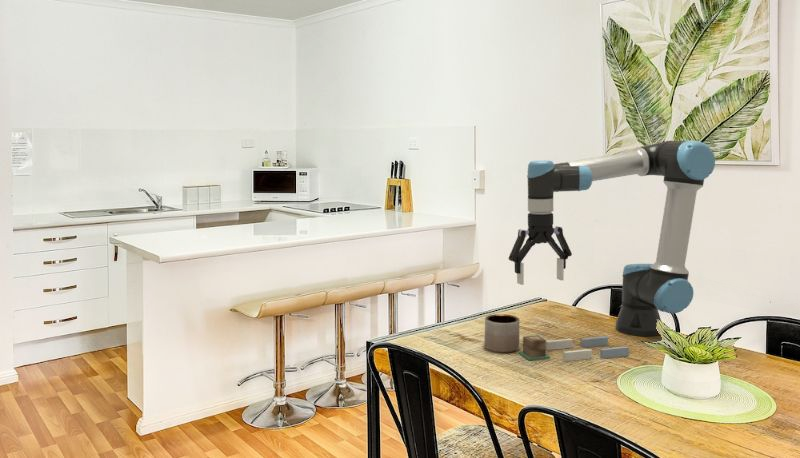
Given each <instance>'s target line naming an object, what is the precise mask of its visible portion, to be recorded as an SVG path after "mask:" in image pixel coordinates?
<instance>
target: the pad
mask: <svg viewBox="0 0 800 458" xmlns="http://www.w3.org/2000/svg"><path fill="white" fill-rule="evenodd" d="M517 354H518V355H519V356H521V357H522V358H524V359H525V360H527V361H531V362H532V361H533V362H534V361H539V360H540V361H541V360H542V361H543V360H550V359H551V356H550V355H548V354H546V356H541V357H532V358H530V357H529V356H527V355H526V354H524V353H523V350H521V351H518V353H517Z"/></svg>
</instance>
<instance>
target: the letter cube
mask: <svg viewBox="0 0 800 458" xmlns="http://www.w3.org/2000/svg"><path fill="white" fill-rule="evenodd" d="M546 341H547V340H546V339H545V338H543V337H542V336H540V335H538V334H536V335H526V336H525V335H524V336H522V351H523V353H524V354H526V355H527V356H529V357H530V358H532V357H541V356H546V353H547V352H546V351H547V350H546Z"/></svg>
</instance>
